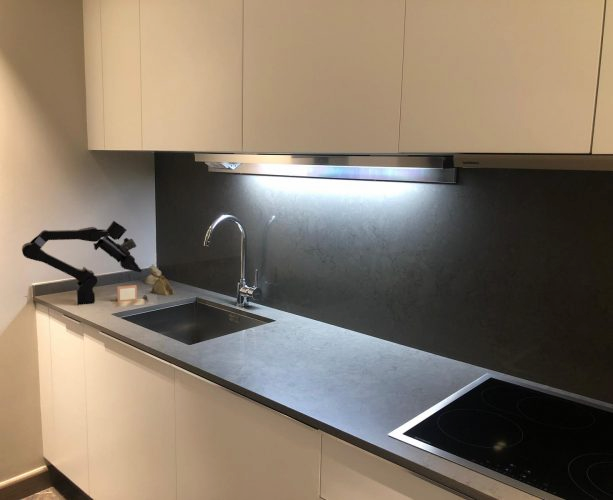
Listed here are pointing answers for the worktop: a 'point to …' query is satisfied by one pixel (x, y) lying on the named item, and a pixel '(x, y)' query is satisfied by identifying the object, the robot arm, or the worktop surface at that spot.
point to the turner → (147, 300)
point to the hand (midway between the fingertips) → (139, 269)
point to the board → (129, 303)
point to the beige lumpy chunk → (153, 275)
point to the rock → (162, 287)
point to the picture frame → (127, 293)
